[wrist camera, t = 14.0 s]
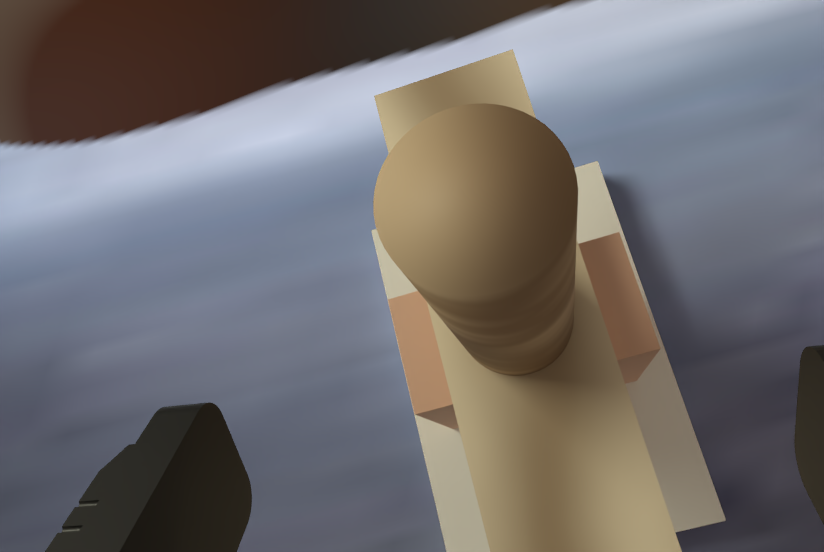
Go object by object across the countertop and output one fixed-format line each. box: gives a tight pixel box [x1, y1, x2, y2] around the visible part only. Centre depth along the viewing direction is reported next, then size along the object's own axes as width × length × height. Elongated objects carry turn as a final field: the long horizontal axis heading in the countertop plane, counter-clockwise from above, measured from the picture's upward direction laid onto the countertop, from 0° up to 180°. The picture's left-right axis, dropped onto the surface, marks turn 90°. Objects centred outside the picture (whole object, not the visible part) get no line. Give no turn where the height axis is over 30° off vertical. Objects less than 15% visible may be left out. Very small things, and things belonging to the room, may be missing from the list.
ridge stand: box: [371, 161, 726, 552], centre depth 27 cm, size 11×16×10 cm
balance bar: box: [373, 50, 682, 552], centre depth 17 cm, size 5×18×12 cm, turn 14°
